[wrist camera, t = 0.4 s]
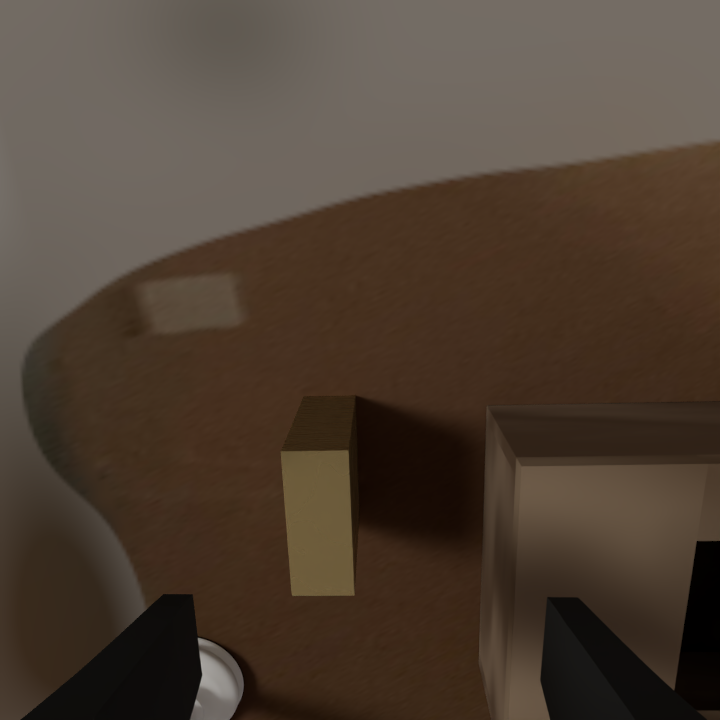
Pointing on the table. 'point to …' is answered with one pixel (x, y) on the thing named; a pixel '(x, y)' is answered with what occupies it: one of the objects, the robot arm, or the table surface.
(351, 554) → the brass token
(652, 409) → the beige block with hole
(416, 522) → the table surface
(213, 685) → the chess piece
